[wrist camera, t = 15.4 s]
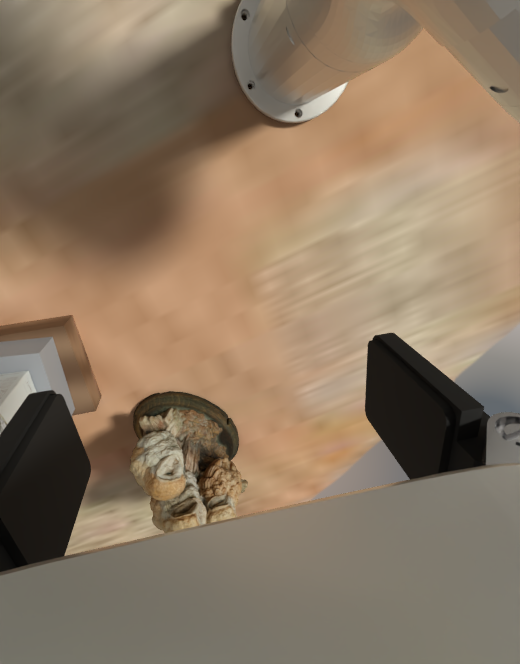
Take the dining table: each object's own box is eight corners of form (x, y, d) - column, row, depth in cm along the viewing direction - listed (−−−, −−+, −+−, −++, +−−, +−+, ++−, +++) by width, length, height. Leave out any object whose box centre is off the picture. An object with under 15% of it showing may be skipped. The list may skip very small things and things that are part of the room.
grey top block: (-45, 346, 39) (-69, 364, 36) (52, 336, 41) (39, 353, 37) (-13, 419, 43) (-31, 442, 40) (75, 408, 45) (64, 429, 41)
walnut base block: (-32, 329, 43) (-52, 343, 39) (73, 312, 44) (63, 325, 40) (9, 409, 48) (-5, 429, 44) (102, 393, 49) (95, 411, 46)
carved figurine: (261, 429, 56) (288, 529, 41) (215, 477, 59) (224, 588, 43) (162, 373, 49) (150, 469, 34) (114, 431, 51) (83, 545, 36)
